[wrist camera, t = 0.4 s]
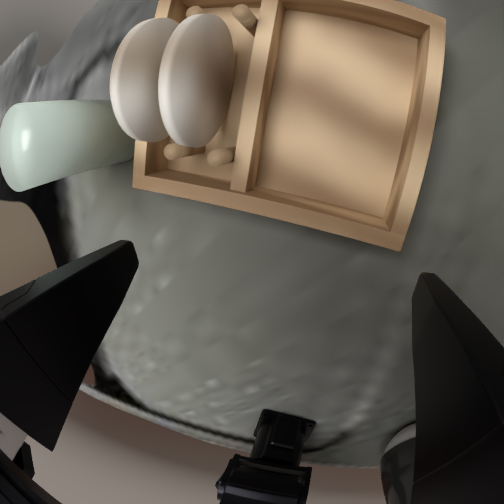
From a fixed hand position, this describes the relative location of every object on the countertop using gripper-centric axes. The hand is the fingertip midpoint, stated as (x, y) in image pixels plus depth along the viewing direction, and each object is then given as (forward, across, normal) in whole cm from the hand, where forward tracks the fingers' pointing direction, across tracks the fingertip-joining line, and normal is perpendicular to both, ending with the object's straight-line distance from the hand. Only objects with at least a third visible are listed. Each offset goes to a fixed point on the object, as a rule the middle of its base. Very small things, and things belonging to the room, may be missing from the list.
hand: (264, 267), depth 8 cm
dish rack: (+14, +1, -4) cm, 15 cm away
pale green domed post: (+14, +16, -2) cm, 21 cm away
